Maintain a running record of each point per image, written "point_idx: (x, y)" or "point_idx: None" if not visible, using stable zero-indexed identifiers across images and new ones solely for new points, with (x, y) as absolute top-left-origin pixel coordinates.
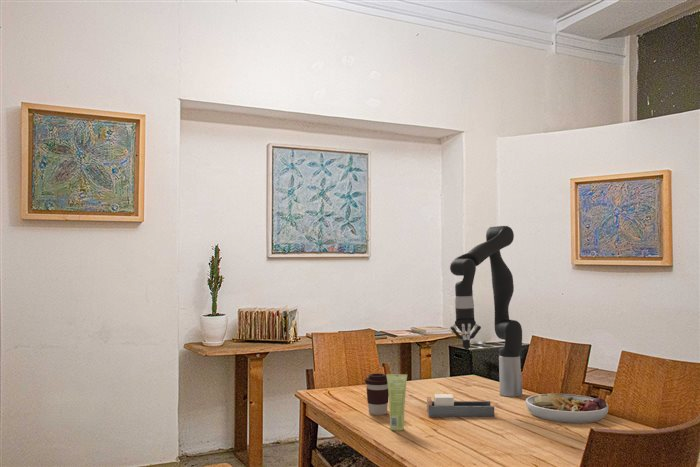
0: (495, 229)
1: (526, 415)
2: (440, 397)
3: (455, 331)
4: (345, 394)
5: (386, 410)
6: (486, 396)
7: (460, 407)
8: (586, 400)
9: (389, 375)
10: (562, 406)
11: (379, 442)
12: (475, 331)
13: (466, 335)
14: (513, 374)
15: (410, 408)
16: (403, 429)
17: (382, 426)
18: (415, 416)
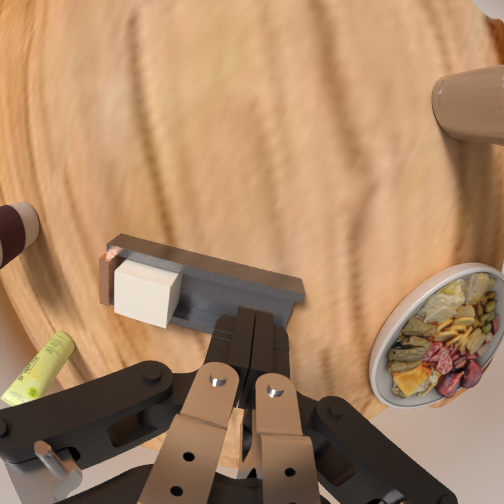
0: None
1: (365, 330)
2: (128, 314)
3: (79, 455)
4: (8, 37)
5: (34, 237)
6: (384, 92)
7: (188, 327)
8: (494, 328)
9: (5, 399)
10: (405, 395)
11: (56, 377)
12: (345, 499)
13: (256, 421)
14: (500, 143)
15: (87, 190)
16: (74, 348)
17: (43, 317)
18: (91, 272)
